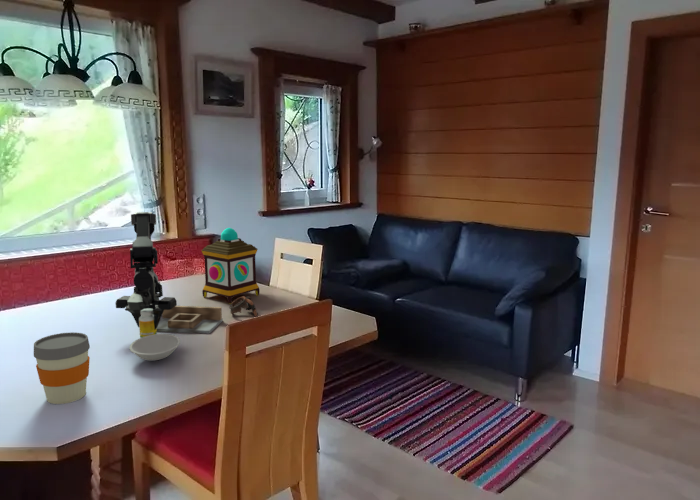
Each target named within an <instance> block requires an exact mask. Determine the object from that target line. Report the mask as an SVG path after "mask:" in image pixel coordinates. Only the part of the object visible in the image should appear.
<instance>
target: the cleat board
mask: <svg viewBox="0 0 700 500" xmlns="http://www.w3.org/2000/svg"><path fill="white" fill-rule="evenodd" d="M222 311H223V310H222V306H201V305H200V306H199V305H198V306H196V305H176V306H175V307H173V308H172V309H170V310H164V311H163V313H162V316H161V318H160V321H159V324H158V327H157V328H156V330H157V333H158V332H159V333H161V332H162V333H182V334H183V333H185V334H187V333H188V334H190V333H191V334H208V335H209V334H211V333H212V332H213V331H214V330H215V329H216V328H217V327H218V326H219V325H220V324H221V323H222V322H223V319H224V318H223V316H222V315H223V313H222Z"/></svg>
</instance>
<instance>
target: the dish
mask: <svg viewBox="0 0 700 500" xmlns="http://www.w3.org/2000/svg"><path fill="white" fill-rule="evenodd" d="M180 344H181V338H180V337H178V336H177V335H174V334H169V333H157V334H155V335H149V336H145V337H142V338H140V337H139V338H138V339H135V340H134V341H133V342H132V343H131V344H130V345H129V351H130V352H131V353H133V354H134V355H135V356H137V357H138V358H140V359H143V360H145V361H158V360H162V359H165V358H167V357H169V356H170V355H172V353H174V351H175V350H176V349H177V348H178V347H179V346H180Z"/></svg>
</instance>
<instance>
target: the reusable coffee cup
mask: <svg viewBox="0 0 700 500" xmlns="http://www.w3.org/2000/svg"><path fill="white" fill-rule="evenodd" d="M90 348H91V347H90V342H89V337H88V335H87V334H85V333H82V332H73V331H72V332H71V331H70V332H61V333H54V334H50V335H47V336H44V337H41V338H39V339H37V340H36V341H35V342H34V343H33V357H34V358H35V359H36V364H35V367H36V372H37V375H38V379H39V382H40V385H42V386H43V391H44V394H45V398H46V402H48V403H49V404H52V405H62V404H63V405H64V404H70V403H72V402H76V401H79V400H81V399H82V398H84V397H85V395H86V394H87V379H88V378H87V377H89V375H90V374H89V373H90V359H91V358H90V356H89V350H90Z"/></svg>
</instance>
